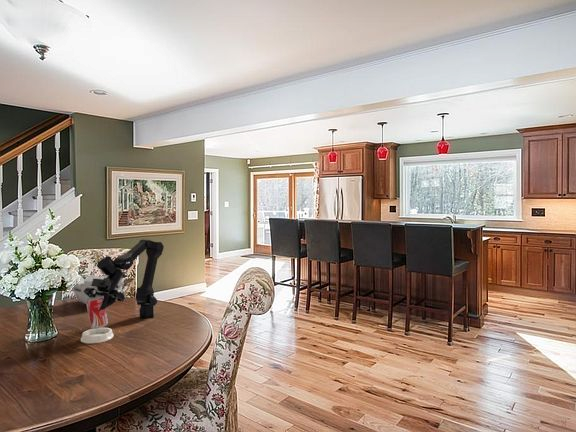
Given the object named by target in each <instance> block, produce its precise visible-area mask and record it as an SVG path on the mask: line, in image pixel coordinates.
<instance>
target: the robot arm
mask: <svg viewBox="0 0 576 432" xmlns="http://www.w3.org/2000/svg"><path fill="white" fill-rule="evenodd" d="M164 247H165V245H164V244H163V242H162V241H154V240H150V239H142V238H141V239H140V240H139V241H138V243H136V244H135V245H134V246H133V247H132V248H131V249H129V250H128V251H127V252H126V253H123V254H121V255H118V256H117V257H115V258H114V259H112V257H111V256H109V255H108V256H107V255H106V256H105V257H104V258H102V259H100V260H99V261H98V262H97V264H96V267H97V269H99V270H100V271H101V273H102V274H104V275H108V276H107V278H104V279H93V281H92V285H91V286H96V287H97V289H98V290H99V291H97V290H96V289H94V288H89V287H88V288H85V290H84V293H85V294H86V295H87V296H88V297H89V298H90V297H92V298H94V297H95V296H104V300H103V302H102V305H101V307H100V309H99V310H98V311H100V310H104V309H106V308H108V307H109V306H111V305H113V304H114V303H117V302H120V303H121V302H122V303H123V302H124V300H125V299H126V295H125V294H124V293H123V292H122V291H120V290H115V288H118V287H119V286H118V283H119V281H120V279H121V278H124V279H126V277H127V276H126V272H125V271H128V270H130V269H131V267H132V266H133V265H134V261H135V259H137V258H138V257H139V256H141V254H142V253H144V252H145V254H146V256H147V259H146V260H147V261H146V263H145V269H144V274H143V279H142V282H141V283H142V284H141V285H140V286H139V287H137V288H136V291H135V294H134V296H135V301H136V304H137V306H140V307H139V308H138V309H139V317H140V318H139V319H149V318H154V317H155V306H156V305H157V304H158V298H156V297H155V296H154V295H155V291H154V288H153V282H154V279H155V273H156V268H157V263H158V259H160V257H161V256H162V254H163V251H164ZM116 298H117V299H116Z"/></svg>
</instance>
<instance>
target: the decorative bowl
mask: <svg viewBox="0 0 576 432" xmlns="http://www.w3.org/2000/svg"><path fill="white" fill-rule="evenodd" d="M107 276H108V275H105V274H104V275H103V276H102V275H100V276H99V275H96V274H90V275H88V276H87V277H86V278H83V277H80V278H81V280H80V282H78V283H77V284H76V285H75V286H74V287H73V288H72V289H71V290H73V294H74V296H75V298H76V300H77V301H78V302H79V303H82V304H85V305H86V303H87V299H88V298H89V297H88V296H87V295H86V294H85V293H84V290H85V288H88V287H89V288H94V289H96V290H97V291H99V290H98V289H97V287H96V286H91V285H92V281H93V279H104V278H107ZM124 279H125V278H121V279H120V281H119V283H118V286H119V287H118V288H115V290H120V291H121V292H122V291H123V290H122V289H123V285H124V281H125V280H124ZM102 298H103V299H104V296H102ZM116 300H117V298H116Z"/></svg>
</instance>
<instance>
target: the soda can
mask: <svg viewBox="0 0 576 432" xmlns="http://www.w3.org/2000/svg"><path fill="white" fill-rule="evenodd" d="M103 300H104V299H103V298H102V296H95V297H94V298H92V297H90V298H88V299H87V303H86V304H85V305H86V310H87V316H88V322H89V326H90V329H98V328H105V327H106V326H107V325H108V323H109V322H108V317H107V316H108V315H107V309H106V308H105V309H104V310H100V311H98V310H99V309H100V307H101V305H102V302H103Z"/></svg>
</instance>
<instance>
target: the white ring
mask: <svg viewBox="0 0 576 432" xmlns="http://www.w3.org/2000/svg"><path fill="white" fill-rule="evenodd" d="M113 338H114V333H113V329H112V328H109V327H102V328H98V329H93V328H90V329H87V330H86V331H83V332H82V333H81V338H80V342H81V343H83V344H93V345H94V344H99V343H104V342H107V341H110V340H112V339H113Z"/></svg>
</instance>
